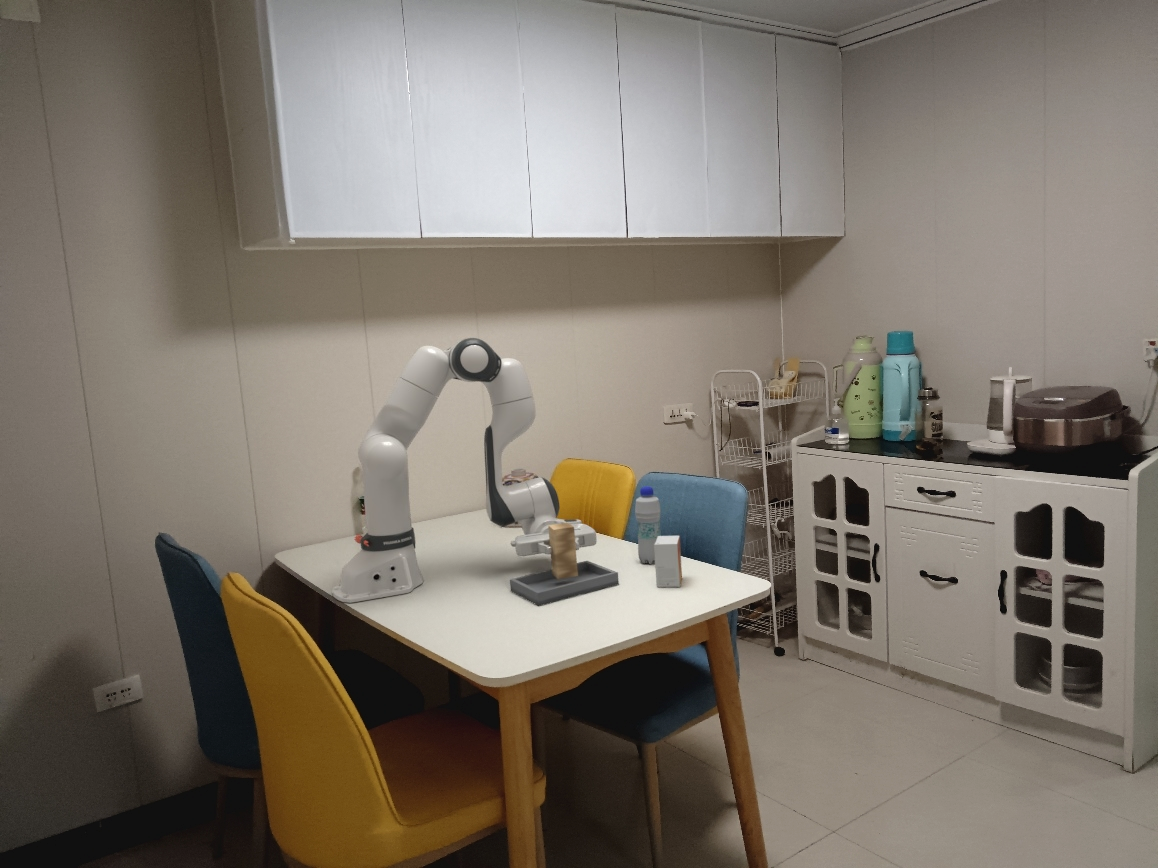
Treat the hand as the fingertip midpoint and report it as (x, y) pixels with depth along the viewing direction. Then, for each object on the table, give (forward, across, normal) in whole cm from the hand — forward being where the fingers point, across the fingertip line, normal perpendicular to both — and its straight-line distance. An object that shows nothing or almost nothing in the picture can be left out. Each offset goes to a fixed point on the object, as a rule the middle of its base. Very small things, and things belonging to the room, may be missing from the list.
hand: (563, 548), depth 193 cm
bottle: (-11, +26, +10) cm, 30 cm away
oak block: (0, 0, +6) cm, 7 cm away
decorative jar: (-73, +6, +10) cm, 74 cm away
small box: (+7, +24, +10) cm, 27 cm away
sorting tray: (-1, 0, +10) cm, 10 cm away
